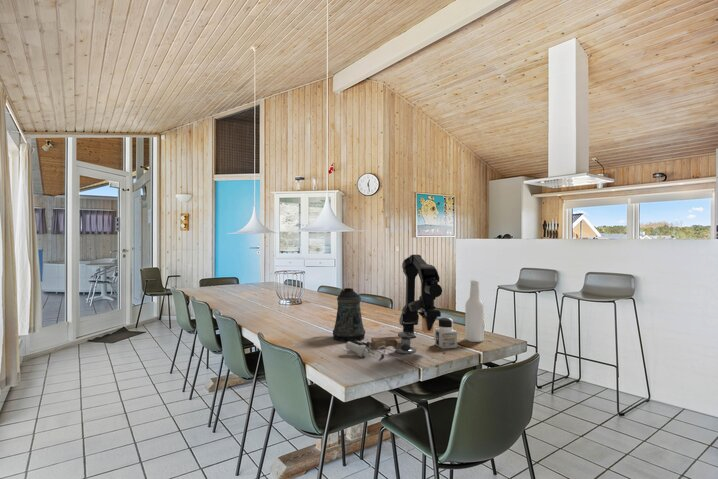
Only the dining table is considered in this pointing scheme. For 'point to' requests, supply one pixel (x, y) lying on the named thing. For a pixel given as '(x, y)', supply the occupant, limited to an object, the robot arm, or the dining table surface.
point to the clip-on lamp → (360, 348)
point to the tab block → (425, 326)
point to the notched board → (385, 341)
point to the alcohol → (474, 315)
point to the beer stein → (348, 317)
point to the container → (446, 334)
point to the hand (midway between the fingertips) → (427, 329)
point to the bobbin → (405, 343)
